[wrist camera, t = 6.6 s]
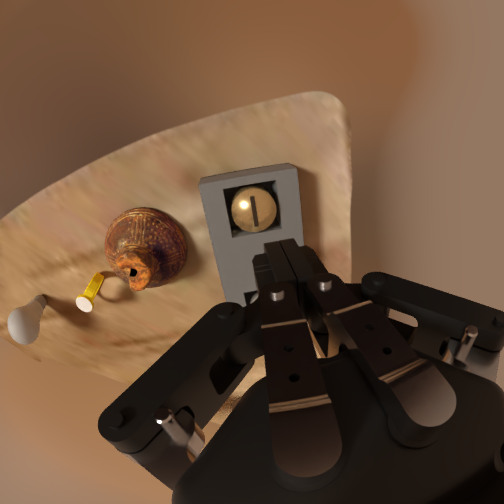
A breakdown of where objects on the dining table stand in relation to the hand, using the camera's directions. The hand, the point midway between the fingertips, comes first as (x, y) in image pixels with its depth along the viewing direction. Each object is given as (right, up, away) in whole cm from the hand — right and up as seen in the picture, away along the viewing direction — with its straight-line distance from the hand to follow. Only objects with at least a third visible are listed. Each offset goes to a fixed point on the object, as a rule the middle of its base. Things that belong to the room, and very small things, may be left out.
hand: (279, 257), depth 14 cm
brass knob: (-1, +7, +20) cm, 21 cm away
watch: (-25, -4, +24) cm, 35 cm away
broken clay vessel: (-16, +1, +23) cm, 28 cm away
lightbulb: (-39, -8, +24) cm, 46 cm away
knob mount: (-1, +1, +24) cm, 24 cm away
